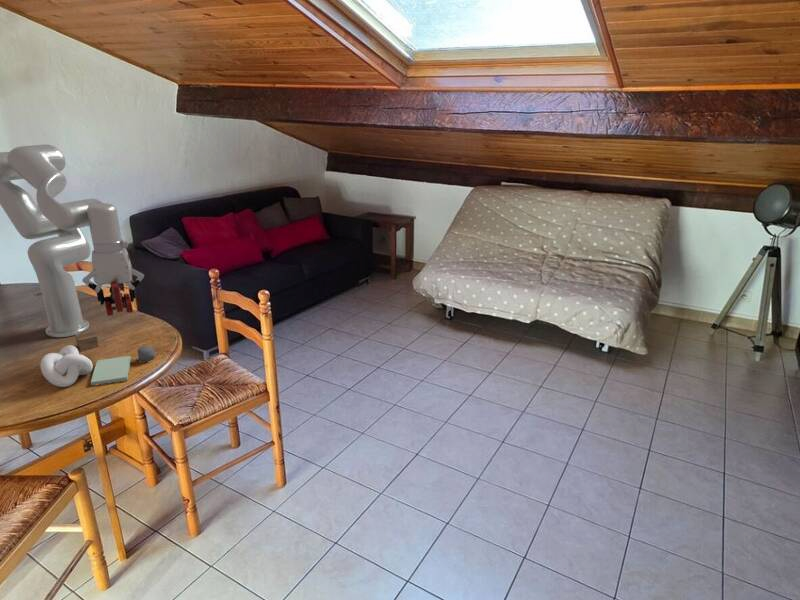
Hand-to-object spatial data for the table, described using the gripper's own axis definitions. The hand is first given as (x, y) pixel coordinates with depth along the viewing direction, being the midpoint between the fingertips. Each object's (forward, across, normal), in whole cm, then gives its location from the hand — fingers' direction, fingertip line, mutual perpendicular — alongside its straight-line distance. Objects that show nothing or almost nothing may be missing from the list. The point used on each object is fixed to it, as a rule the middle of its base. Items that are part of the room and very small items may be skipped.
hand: (117, 301), depth 156 cm
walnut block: (+17, +11, -5) cm, 21 cm away
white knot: (+17, +13, +15) cm, 26 cm away
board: (+16, +2, +15) cm, 22 cm away
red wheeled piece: (+3, 0, 0) cm, 3 cm away
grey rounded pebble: (+16, -7, +10) cm, 20 cm away
